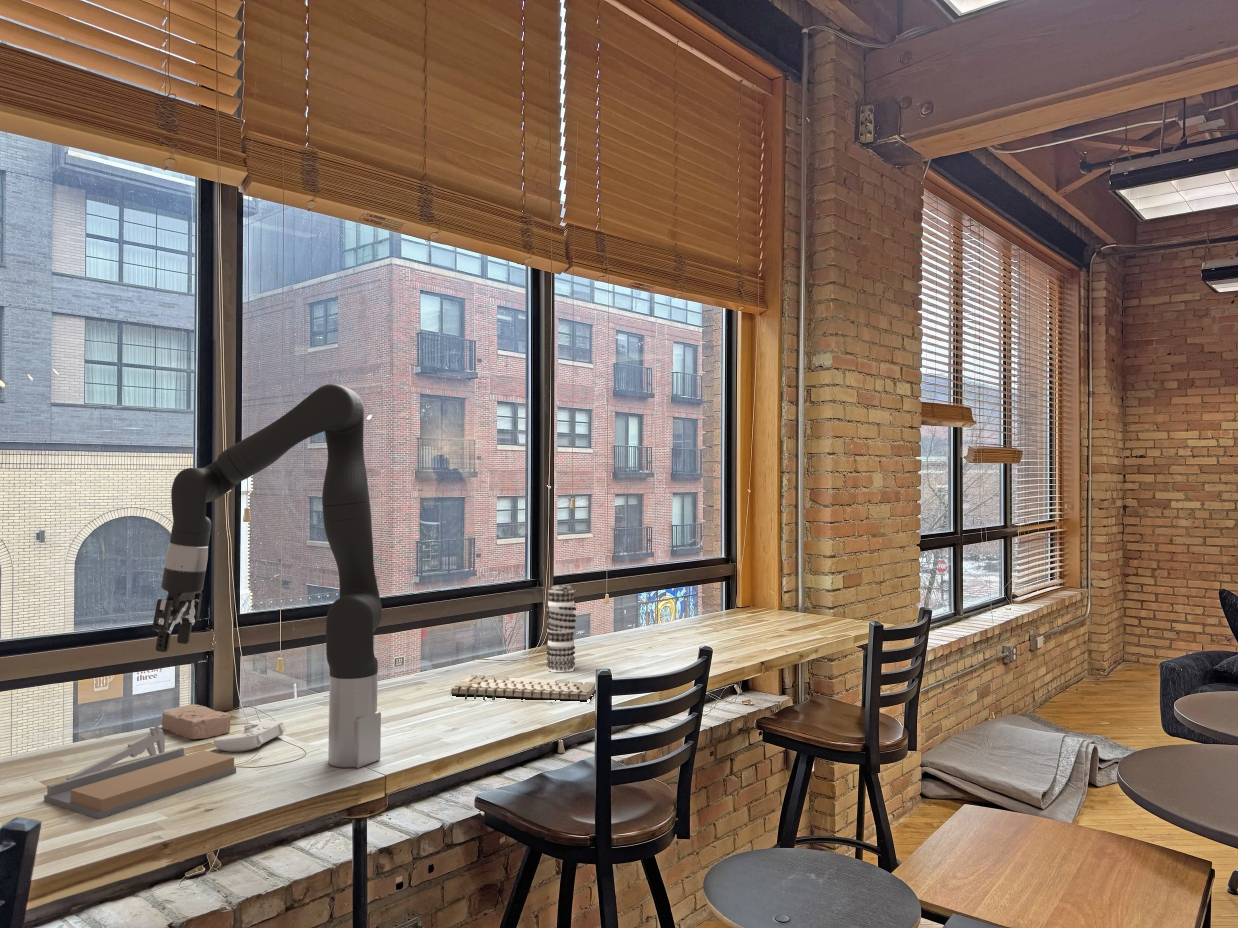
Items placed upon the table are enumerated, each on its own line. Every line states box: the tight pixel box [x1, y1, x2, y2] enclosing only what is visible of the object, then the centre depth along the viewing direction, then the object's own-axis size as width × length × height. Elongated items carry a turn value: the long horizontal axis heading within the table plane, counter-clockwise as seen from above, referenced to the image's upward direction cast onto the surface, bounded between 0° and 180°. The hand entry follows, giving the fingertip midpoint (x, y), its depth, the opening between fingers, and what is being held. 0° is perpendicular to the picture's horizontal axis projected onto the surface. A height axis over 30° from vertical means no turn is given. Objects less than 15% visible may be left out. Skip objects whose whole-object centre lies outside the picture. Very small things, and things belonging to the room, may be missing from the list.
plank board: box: [43, 747, 237, 820], centre depth 156 cm, size 16×26×3 cm, turn 152°
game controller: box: [213, 720, 287, 753], centre depth 182 cm, size 14×4×10 cm
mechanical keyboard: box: [450, 674, 597, 702], centre depth 227 cm, size 38×19×3 cm, turn 83°
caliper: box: [66, 724, 166, 780], centre depth 165 cm, size 21×1×6 cm, turn 157°
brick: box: [161, 704, 232, 740], centre depth 191 cm, size 16×8×5 cm, turn 52°
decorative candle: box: [545, 584, 577, 671], centre depth 256 cm, size 9×9×25 cm
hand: (172, 647), depth 171 cm, fingers open, 8 cm apart
